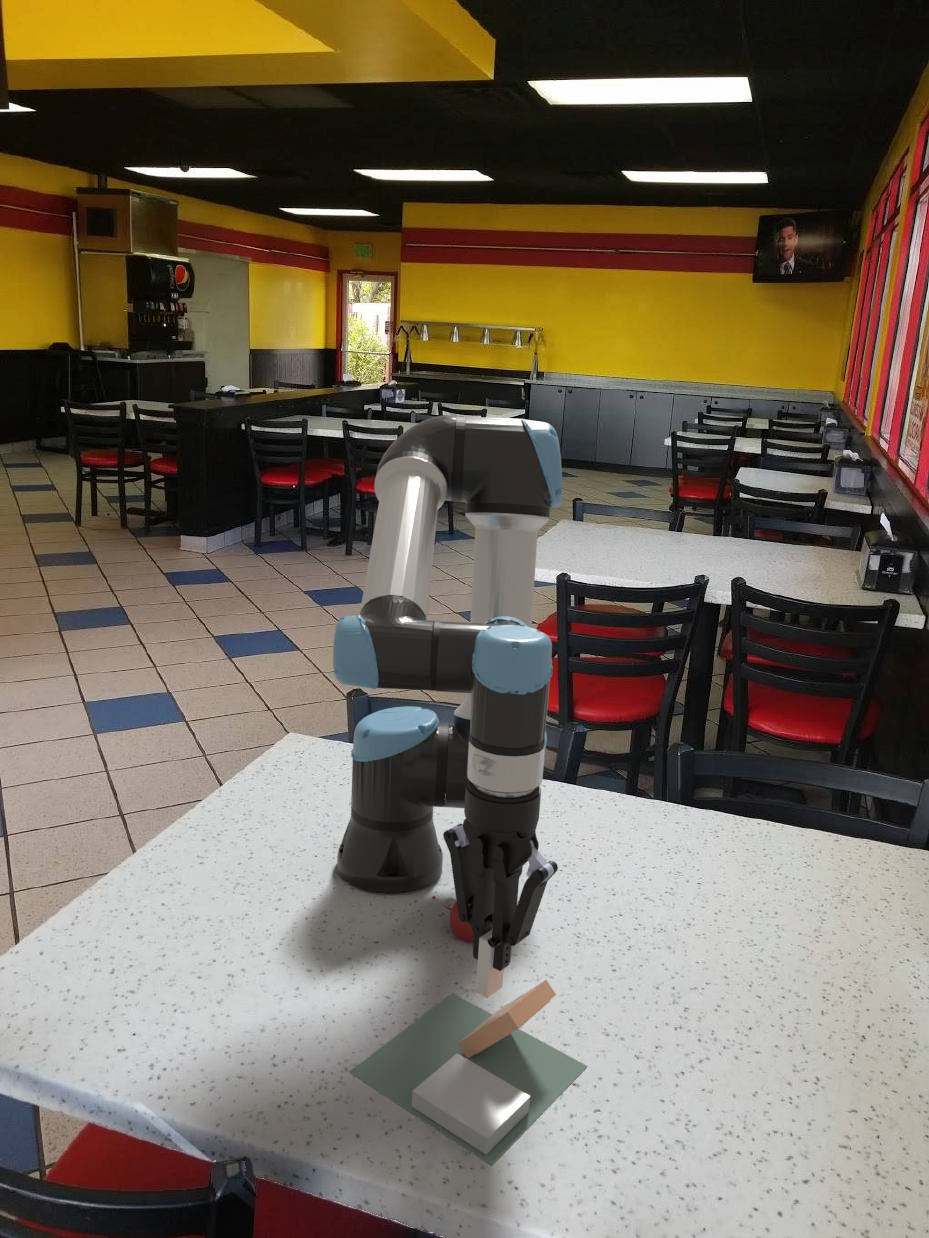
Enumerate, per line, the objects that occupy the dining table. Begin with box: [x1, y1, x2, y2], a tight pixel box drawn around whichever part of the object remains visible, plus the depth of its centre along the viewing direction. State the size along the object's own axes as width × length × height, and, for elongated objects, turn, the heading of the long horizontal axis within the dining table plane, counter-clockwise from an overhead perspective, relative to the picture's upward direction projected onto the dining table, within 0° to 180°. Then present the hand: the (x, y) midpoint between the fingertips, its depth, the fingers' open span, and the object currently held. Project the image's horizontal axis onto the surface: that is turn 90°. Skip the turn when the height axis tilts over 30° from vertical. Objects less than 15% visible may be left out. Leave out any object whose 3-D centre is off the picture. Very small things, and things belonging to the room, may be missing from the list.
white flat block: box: [412, 1053, 530, 1155], centre depth 93 cm, size 2×7×9 cm
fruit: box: [431, 895, 493, 943], centre depth 122 cm, size 6×6×8 cm
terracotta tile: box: [458, 979, 557, 1059], centre depth 100 cm, size 2×7×9 cm
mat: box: [348, 993, 589, 1167], centre depth 99 cm, size 18×17×1 cm
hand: (489, 989), depth 101 cm, fingers closed
